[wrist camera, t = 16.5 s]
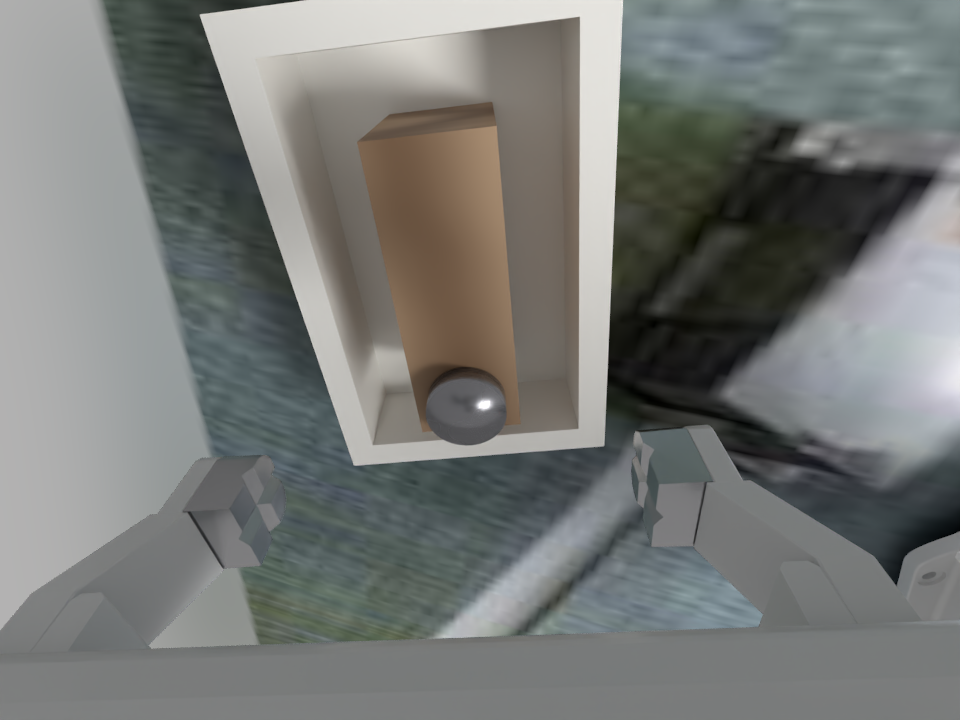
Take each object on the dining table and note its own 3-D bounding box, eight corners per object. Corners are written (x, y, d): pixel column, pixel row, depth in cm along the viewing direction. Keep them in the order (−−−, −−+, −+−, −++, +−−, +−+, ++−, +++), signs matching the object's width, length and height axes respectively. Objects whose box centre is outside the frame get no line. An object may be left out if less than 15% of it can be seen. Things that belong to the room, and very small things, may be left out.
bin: (585, 383, 27) (604, 446, 23) (372, 401, 28) (353, 465, 24) (590, -24, 18) (624, -43, 13) (263, 19, 18) (199, 14, 14)
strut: (492, 101, 19) (497, 131, 13) (512, 345, 25) (522, 441, 19) (389, 114, 19) (349, 149, 13) (434, 353, 25) (419, 449, 19)
